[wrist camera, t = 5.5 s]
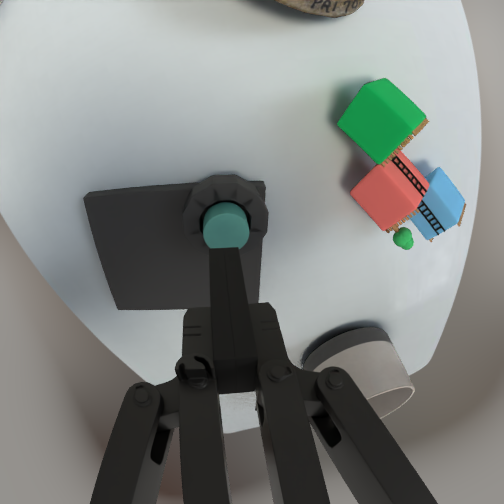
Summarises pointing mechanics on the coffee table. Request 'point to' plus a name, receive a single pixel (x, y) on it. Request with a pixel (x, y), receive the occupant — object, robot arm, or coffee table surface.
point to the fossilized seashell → (324, 6)
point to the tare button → (225, 226)
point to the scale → (171, 240)
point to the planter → (367, 366)
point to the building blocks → (398, 166)
